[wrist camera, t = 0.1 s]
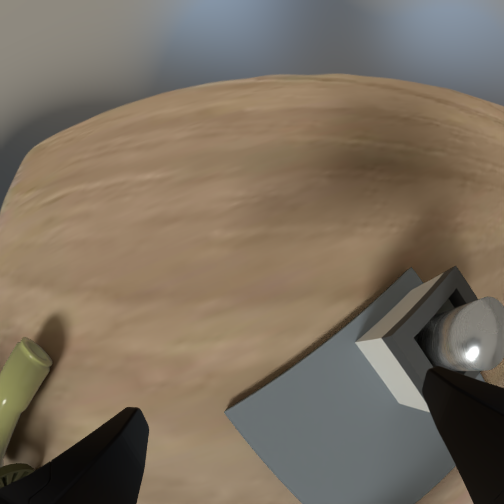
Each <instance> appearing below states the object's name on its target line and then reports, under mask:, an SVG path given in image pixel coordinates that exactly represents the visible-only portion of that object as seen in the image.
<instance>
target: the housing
mask: <svg viewBox="0 0 504 504" xmlns="http://www.w3.org/2000/svg"><path fill="white" fill-rule="evenodd" d="M476 300H478V299H477V297H476V295H475V294H474V292H473V291H472V289H471V288H470V286H469V284H468V283H467V281H466V280H465V278H464V277H463V275H462V274H461V272H460V271H459V270H458V268H457V267H456V266H454V267H452V268H451V269H449V270H447V271H445V272H444V273H442V274H440V275H438V276H437V277H435V278H433V279H431V280H429V281H427V282H426V283H424V284H422V285H420V286H418V287H416V288H414V289H412V290H411V291H410V292H409V293H408V294H407V295H406V296H405V297H404V298H403V299H402V300H401V301H400V302H399V303H398V304H397V305H396V306H395V307H394V308H393V309H392V310H391V311H389V312H388V313H387V314H386V315H385V316H384V317H383V318H382V319H381V320H380V321H379V322H378V323H377V324H375V325H374V326H373V327H372V328H371V329H370V330H369V331H368V332H366V333H365V334H364V335H363V336H362V337H361V338H360V339H358V340H357V341H356V342H355V343H356V345H357V346H358V347H359V349H360V350H361V351H362V353H363V354H364V355H365V357H366V358H367V360H368V361H369V362H370V364H371V365H372V366H373V368H374V369H375V371H376V372H377V373H378V375H379V376H380V377H381V379H382V380H383V382H384V383H385V384H386V386H387V387H388V389H389V390H390V391H391V393H392V394H393V396H394V397H395V398H396V400H397V401H398V403H399V404H402V405H406V406H409V407H413V408H416V409H420V410H423V411H427V412H430V411H429V409H428V406H427V404H426V401H425V399H424V397H423V394H422V386H423V383H424V379H425V375H426V372H427V370H428V369H430V368H433V366H432V365H431V363H430V362H429V360H428V359H427V357H426V356H425V354H424V353H423V351H422V350H421V348H420V347H419V345H418V344H417V342H416V341H415V339H414V337H415V336H416V335H417V334H418V332H419V331H420V330H421V329H422V328H423V327H424V326H425V325H426V324H427V323H428V322H429V320H430V319H431V318H432V317H433V316H434V315H436V314H439V313H442V312H445V311H448V310H451V309H454V308H457V307H460V306H462V305H465V304H468V303H471V302H473V301H476ZM455 372H457V373H460V374H463V375H466V376H469V377H472V378H476V377H477V376H478V374H479V373H480V372H481V371H455Z"/></svg>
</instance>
